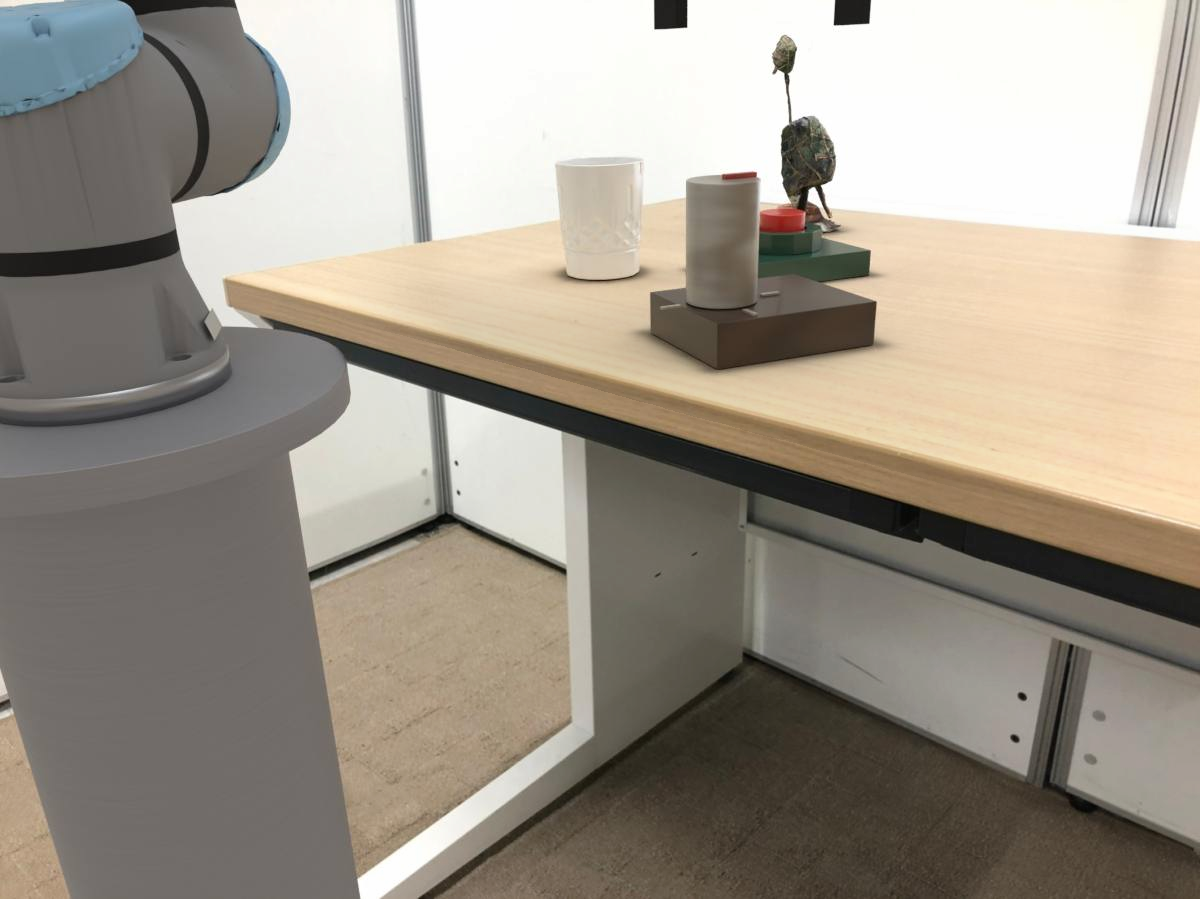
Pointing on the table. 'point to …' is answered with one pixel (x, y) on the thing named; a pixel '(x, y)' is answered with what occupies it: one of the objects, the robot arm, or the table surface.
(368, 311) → the table surface
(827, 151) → the stone bird figurine
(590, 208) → the white cup
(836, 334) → the panel
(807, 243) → the switchbox
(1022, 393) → the table surface
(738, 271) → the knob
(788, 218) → the button
